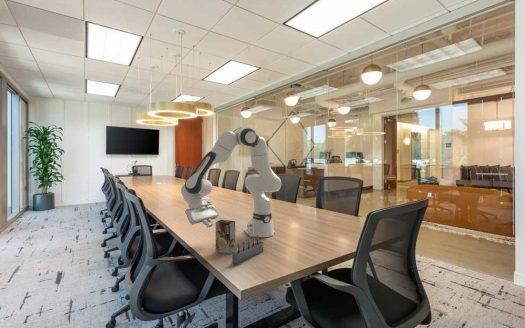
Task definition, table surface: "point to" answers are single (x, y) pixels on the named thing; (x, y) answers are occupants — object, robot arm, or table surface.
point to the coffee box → (225, 236)
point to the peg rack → (247, 251)
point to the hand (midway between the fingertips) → (210, 226)
